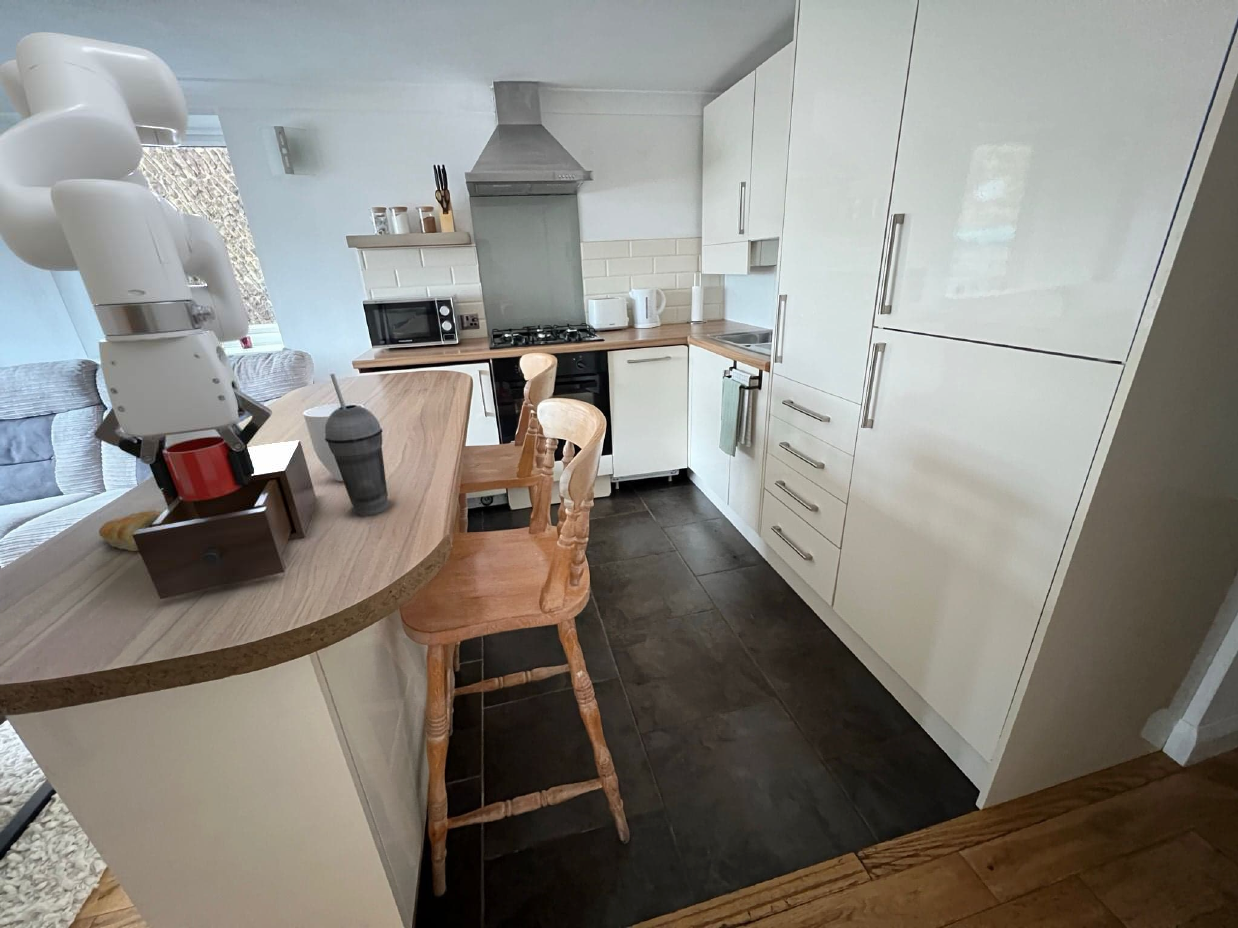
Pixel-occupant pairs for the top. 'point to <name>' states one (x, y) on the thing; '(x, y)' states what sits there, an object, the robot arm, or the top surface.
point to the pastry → (127, 529)
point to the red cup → (201, 468)
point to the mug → (323, 435)
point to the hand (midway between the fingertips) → (211, 485)
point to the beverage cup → (358, 455)
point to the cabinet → (284, 480)
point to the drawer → (217, 539)
